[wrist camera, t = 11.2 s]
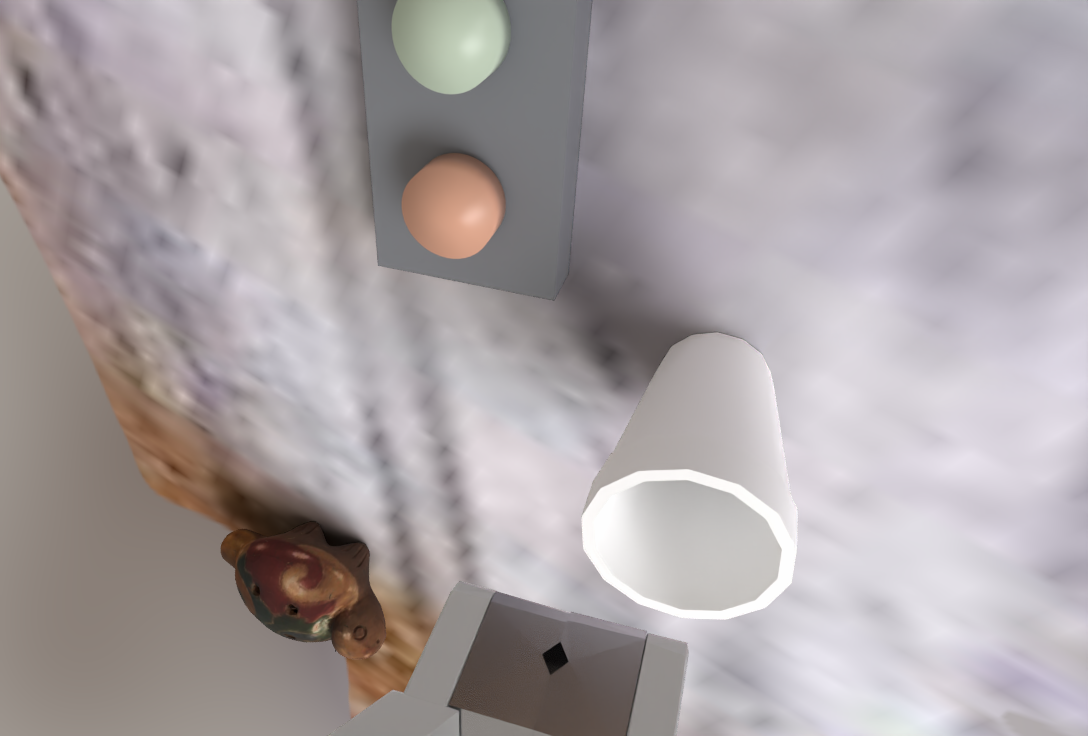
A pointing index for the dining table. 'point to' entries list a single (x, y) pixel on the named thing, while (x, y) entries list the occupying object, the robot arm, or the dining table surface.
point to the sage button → (451, 41)
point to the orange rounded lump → (453, 205)
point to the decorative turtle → (308, 588)
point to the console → (485, 143)
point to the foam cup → (698, 488)
